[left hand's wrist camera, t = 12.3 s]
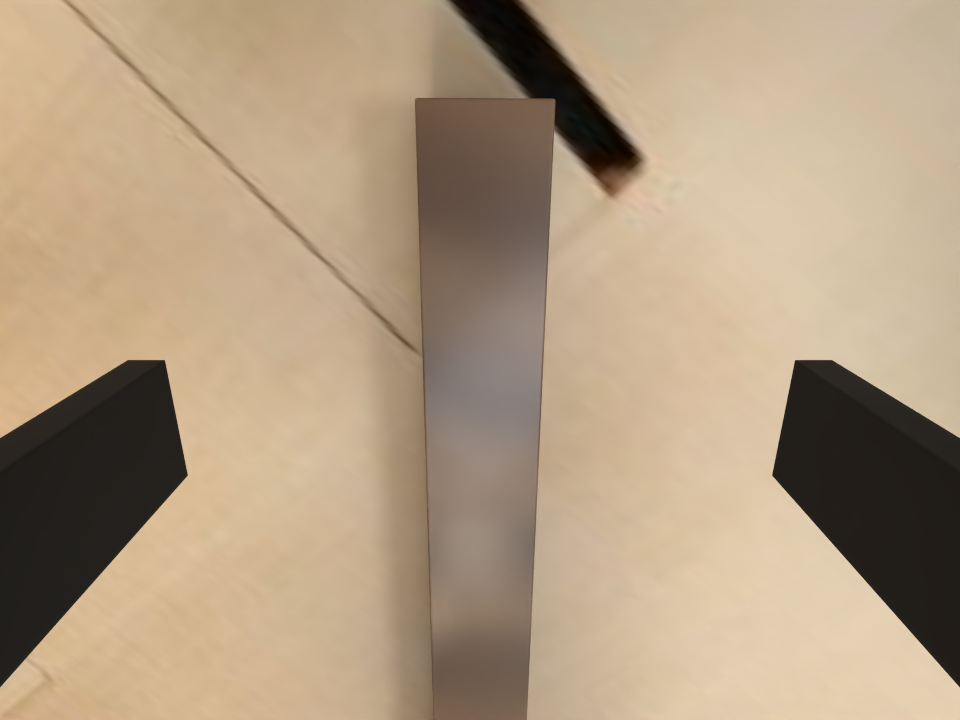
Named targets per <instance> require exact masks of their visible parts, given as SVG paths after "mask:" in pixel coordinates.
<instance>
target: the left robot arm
mask: <svg viewBox="0 0 960 720" xmlns="http://www.w3.org/2000/svg"><path fill="white" fill-rule="evenodd" d="M187 476H188V474H187V469H186V464H185V459H184V454H183V449H182V444H181V439H180V434H179V429H178V424H177V419H176V414H175V409H174V404H173V399H172V394H171V389H170V384H169V379H168V374H167V369H166V364H165V360H128V361H126V362H124V363H123V364H121V365H119V366H118V367H116V368H114V369H113V370H111V371H110V372H108V373H106V374H105V375H103V376H101V377H100V378H98V379H96V380H95V381H93V382H92V383H90V384H88V385H87V386H85V387H83V388H82V389H80V390H78V391H77V392H75V393H74V394H72V395H70V396H69V397H67V398H65V399H64V400H62V401H60V402H59V403H57V404H55V405H54V406H52V407H51V408H49V409H47V410H46V411H44V412H42V413H41V414H39V415H37V416H36V417H34V418H33V419H31V420H29V421H28V422H26V423H24V424H23V425H21V426H19V427H18V428H16V429H15V430H13V431H11V432H10V433H8V434H6V435H5V436H3V437H1V438H0V687H1V686H2V685H3V683H4V682H5V681H6V680H7V679H8V678H9V677H10V676H11V674H12V673H13V672H14V671H15V670H16V669H17V668H18V667H19V665H20V664H21V663H22V662H23V661H24V660H25V659H26V657H27V656H28V655H29V654H30V653H31V652H32V651H33V650H34V648H35V647H36V646H37V645H38V644H39V643H40V642H41V641H42V639H43V638H44V637H45V636H46V635H47V634H48V633H49V632H50V630H51V629H52V628H53V627H54V626H55V625H56V624H57V622H58V621H59V620H60V619H61V618H62V617H63V616H64V615H65V613H66V612H67V611H68V610H69V609H70V608H71V607H72V606H73V604H74V603H75V602H76V601H77V600H78V599H79V598H80V597H81V595H82V594H83V593H84V592H85V591H86V590H87V589H88V587H89V586H90V585H91V584H92V583H93V582H94V581H95V580H96V578H97V577H98V576H99V575H100V574H101V573H102V572H103V571H104V569H105V568H106V567H107V566H108V565H109V564H110V563H111V562H112V560H113V559H114V558H115V557H116V556H117V555H118V554H119V552H120V551H121V550H122V549H123V548H124V547H125V546H126V545H127V543H128V542H129V541H130V540H131V539H132V538H133V537H134V536H135V534H136V533H137V532H138V531H139V530H140V529H141V528H142V527H143V525H144V524H145V523H146V522H147V521H148V520H149V519H150V517H151V516H152V515H153V514H154V513H155V512H156V511H157V510H158V508H159V507H160V506H161V505H162V504H163V503H164V502H165V501H166V499H167V498H168V497H169V496H170V495H171V494H172V493H173V492H174V490H175V489H176V488H177V487H178V486H179V485H180V484H181V482H182V481H183V480H184V479H185V478H186V477H187ZM772 476H773V477H774V478H775V479H776V480H777V481H778V482H779V484H780V485H781V486H782V487H783V488H784V489H785V490H786V492H787V493H788V494H789V495H790V496H791V497H792V498H793V499H794V501H795V502H796V503H797V504H798V505H799V506H800V507H801V508H802V510H803V511H804V512H805V513H806V514H807V515H808V516H809V517H810V519H811V520H812V521H813V522H814V523H815V524H816V525H817V527H818V528H819V529H820V530H821V531H822V532H823V533H824V534H825V536H826V537H827V538H828V539H829V540H830V541H831V542H832V543H833V545H834V546H835V547H836V548H837V549H838V550H839V551H840V552H841V554H842V555H843V556H844V557H845V558H846V559H847V560H848V562H849V563H850V564H851V565H852V566H853V567H854V568H855V569H856V571H857V572H858V573H859V574H860V575H861V576H862V577H863V578H864V580H865V581H866V582H867V583H868V584H869V585H870V586H871V587H872V589H873V590H874V591H875V592H876V593H877V594H878V595H879V597H880V598H881V599H882V600H883V601H884V602H885V603H886V604H887V606H888V607H889V608H890V609H891V610H892V611H893V612H894V613H895V615H896V616H897V617H898V618H899V619H900V620H901V621H902V622H903V624H904V625H905V626H906V627H907V628H908V629H909V630H910V632H911V633H912V634H913V635H914V636H915V637H916V638H917V639H918V641H919V642H920V643H921V644H922V645H923V646H924V647H925V648H926V650H927V651H928V652H929V653H930V654H931V655H932V656H933V657H934V659H935V660H936V661H937V662H938V663H939V664H940V665H941V667H942V668H943V669H944V670H945V671H946V672H947V673H948V674H949V676H950V677H951V678H952V679H953V680H954V681H955V682H956V683H957V685H958V686H959V687H960V438H959V437H957V436H955V435H954V434H952V433H950V432H949V431H947V430H945V429H944V428H942V427H941V426H939V425H937V424H936V423H934V422H932V421H931V420H929V419H927V418H926V417H924V416H923V415H921V414H919V413H918V412H916V411H914V410H913V409H911V408H909V407H908V406H906V405H905V404H903V403H901V402H900V401H898V400H896V399H895V398H893V397H891V396H890V395H888V394H886V393H885V392H883V391H882V390H880V389H878V388H877V387H875V386H873V385H872V384H870V383H868V382H867V381H865V380H864V379H862V378H860V377H859V376H857V375H855V374H854V373H852V372H850V371H849V370H847V369H846V368H844V367H842V366H841V365H839V364H837V363H836V362H834V361H832V360H795V364H794V369H793V374H792V379H791V384H790V389H789V394H788V399H787V404H786V409H785V414H784V419H783V424H782V429H781V434H780V439H779V444H778V449H777V454H776V459H775V464H774V469H773V474H772Z"/></svg>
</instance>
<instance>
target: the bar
mask: <svg viewBox="0 0 960 720" xmlns="http://www.w3.org/2000/svg"><path fill="white" fill-rule="evenodd" d="M415 115H416V148H417V182H418V215H419V249H420V282H421V316H422V349H423V382H424V416H425V449H426V483H427V516H428V550H429V583H430V617H431V650H432V684H433V717H434V720H527V701H528V680H529V658H530V636H531V615H532V593H533V571H534V550H535V528H536V507H537V485H538V463H539V442H540V420H541V398H542V377H543V355H544V334H545V312H546V290H547V269H548V247H549V225H550V204H551V182H552V161H553V139H554V117H555V99H488V98H416V99H415Z"/></svg>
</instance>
